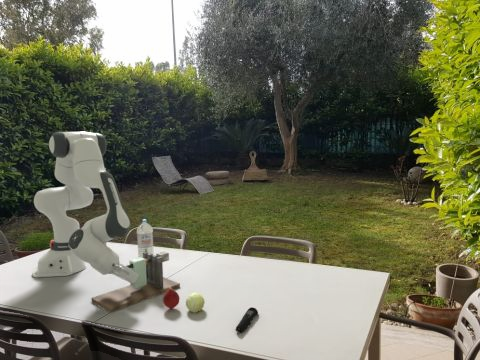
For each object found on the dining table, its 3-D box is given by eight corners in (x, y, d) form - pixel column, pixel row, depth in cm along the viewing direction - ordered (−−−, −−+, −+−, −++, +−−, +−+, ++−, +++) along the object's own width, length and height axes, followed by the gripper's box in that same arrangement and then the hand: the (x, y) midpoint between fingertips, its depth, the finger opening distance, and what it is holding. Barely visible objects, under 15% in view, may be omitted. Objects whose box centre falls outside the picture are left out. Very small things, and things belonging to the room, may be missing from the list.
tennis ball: (196, 287, 145) (182, 293, 140) (209, 294, 141) (195, 300, 136) (194, 303, 146) (181, 309, 141) (207, 311, 142) (194, 317, 137)
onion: (182, 306, 144) (181, 285, 143) (174, 313, 139) (174, 291, 138) (168, 304, 146) (167, 283, 145) (160, 311, 141) (159, 289, 140)
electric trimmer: (232, 334, 125) (232, 325, 125) (248, 313, 139) (248, 304, 139) (243, 336, 124) (243, 327, 123) (259, 314, 138) (259, 306, 138)
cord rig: (110, 312, 140) (108, 274, 139) (91, 301, 150) (89, 265, 148) (179, 287, 163) (178, 253, 161) (159, 278, 172) (158, 247, 171)
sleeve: (135, 288, 153) (134, 262, 152) (130, 285, 156) (129, 260, 155) (146, 284, 157) (145, 259, 156) (141, 282, 159) (140, 257, 158)
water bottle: (156, 272, 181) (154, 218, 178) (151, 277, 174) (149, 221, 171) (141, 271, 182) (139, 218, 179) (136, 277, 175) (134, 221, 172)
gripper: (127, 260, 140) (151, 279, 148) (98, 249, 154) (122, 267, 162) (116, 275, 137) (141, 294, 145) (88, 263, 151) (112, 281, 159)
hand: (131, 280), depth 154 cm, fingers closed, pressing on sleeve
